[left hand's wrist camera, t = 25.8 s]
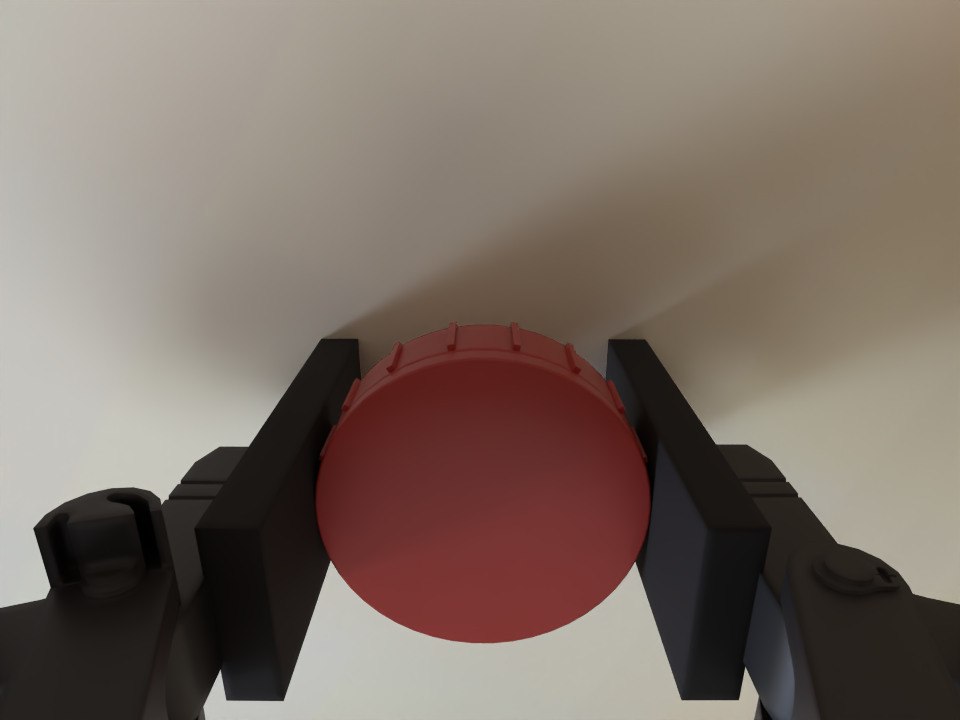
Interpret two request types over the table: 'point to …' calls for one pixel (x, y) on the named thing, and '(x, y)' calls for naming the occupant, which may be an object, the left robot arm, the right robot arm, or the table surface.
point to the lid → (483, 486)
